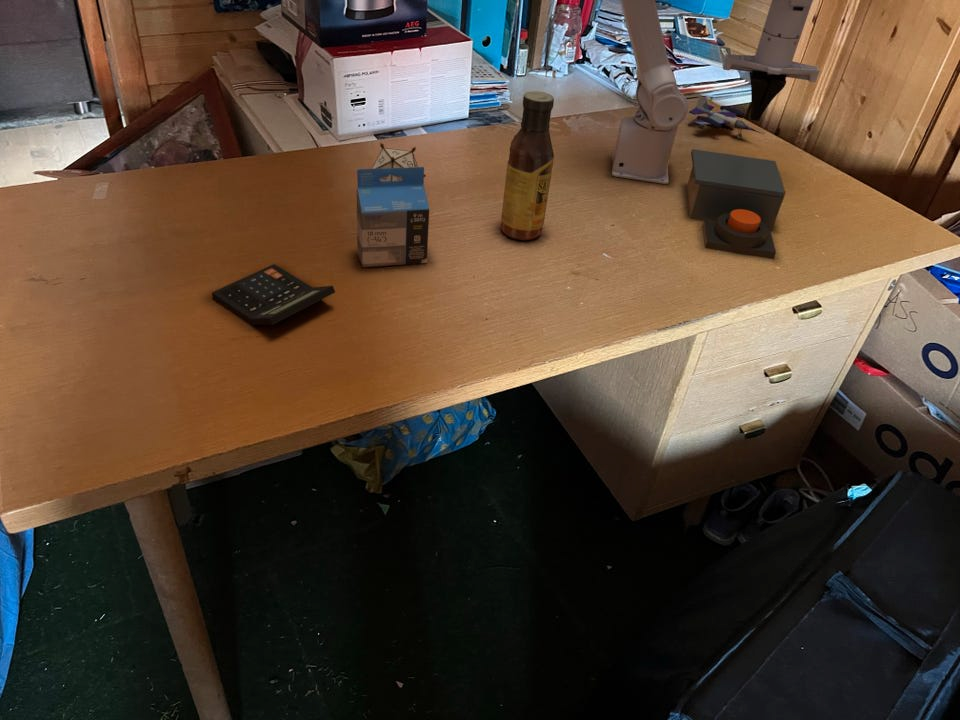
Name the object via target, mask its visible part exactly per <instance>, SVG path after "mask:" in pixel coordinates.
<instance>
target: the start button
mask: <svg viewBox="0 0 960 720" xmlns="http://www.w3.org/2000/svg"><path fill="white" fill-rule="evenodd" d="M760 221H761V218H760V217H759V216H758V215H757V214H756V213H754V212H751V211H748V210H743V209H736V210H733V211H732V212H731V213H730V216H729V219H728V222H727V225H728V226H729V227H730V228H731V229H733V230H736V231H738V232H742V233H748V234H749V233H756V232H757V230H758V227H759V224H760Z"/></svg>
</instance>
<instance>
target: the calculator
mask: <svg viewBox="0 0 960 720" xmlns="http://www.w3.org/2000/svg"><path fill="white" fill-rule="evenodd" d="M335 293H336V290H335V287H334V285H327V286H315V287H314V286H313V287H312V286H311V285H309V284H308V283H306V282H304V281H303V280H301V279H300V278H298V277H297V276H295V275H293V274H291V273H290V272H288V271H287V270H285V269H283V268H282V267H280V266H278V265H277V264H275V263H273V264H271V265H269V266H266V267H264V268H262V269H260V270H258V271H256V272H254V273H251V274H248V275H246V276H244V277H243V278H240V279H238V280H236V281H234V282H232V283H230V284H227V285H225V286H223V287H221V288H218V289H216V290H214V291H212V292H211V296H212V297H211V298H212V300H214V301H216V302H217V303H219V304H220V305H222V306H223V307H224V308H226V309H228V310H229V311H230V312H232V313H233V314H235V315H236V316H238V317H239V318H240V319H242V320H244V321H245V322H246V323H248V324H249V325H250V326H273V325H276V324H278V323H279V322H281V321H283V320H285V319H287V318H289V317H291V316H293V315H294V314H297V313H299V312H300V311H302V310H304V309H307V308H308V307H310V306H312V305H314V304H316V303H317V302H320V301H322V300H324V299H325V298H328V297H329V296H331V295H333V294H335Z"/></svg>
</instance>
